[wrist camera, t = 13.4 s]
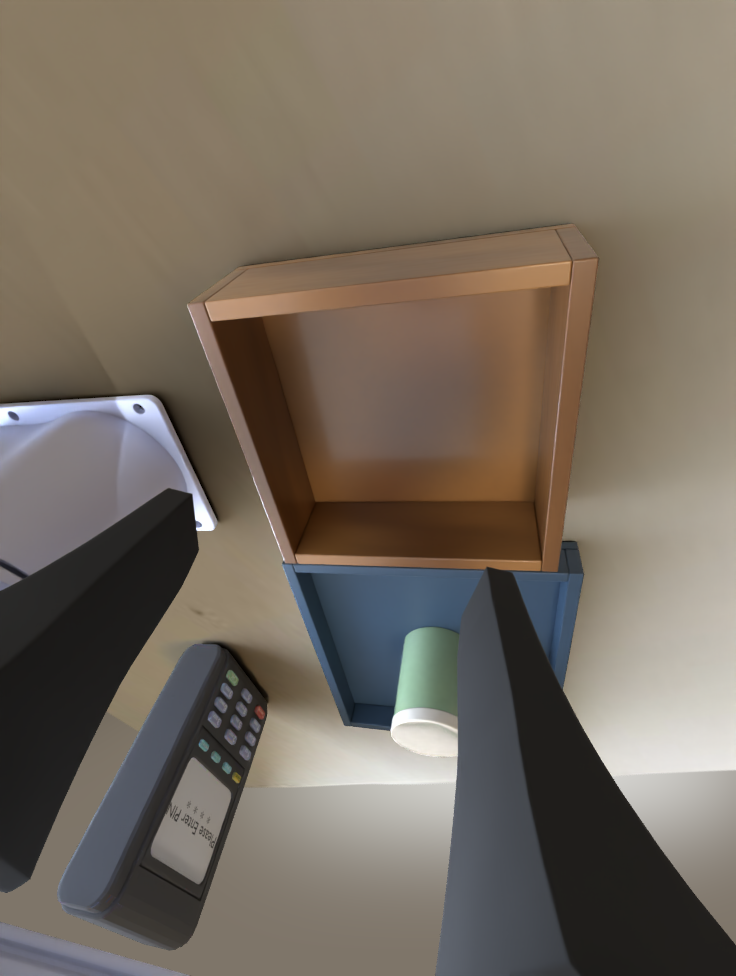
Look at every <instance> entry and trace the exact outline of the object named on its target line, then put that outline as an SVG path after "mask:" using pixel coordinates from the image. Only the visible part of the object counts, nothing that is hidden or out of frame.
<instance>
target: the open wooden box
mask: <svg viewBox="0 0 736 976" xmlns="http://www.w3.org/2000/svg"><path fill="white" fill-rule="evenodd" d="M598 263H599V257H598V256H597V254H596V253H595V252H594V250H593V249H592V248H591V246H590V245H589V243H588V242H587V241H586V239H585V238H584V237H583V235H582V234H581V233H580V231H579V230H578V228H577V227H576V226H575V225H574V224H573V223H572V224H565V225H557V226H549V227H542V228H534V229H526V230H519V231H511V232H503V233H496V234H488V235H480V236H472V237H465V238H457V239H449V240H442V241H434V242H426V243H419V244H411V245H403V246H396V247H388V248H380V249H372V250H365V251H357V252H349V253H342V254H334V255H326V256H319V257H311V258H303V259H296V260H288V261H280V262H273V263H265V264H257V265H249V266H242V267H238V268H237V269H235V270H234V271H233V272H231V273H230V274H228V275H227V276H226V277H224V278H223V279H221V280H220V281H219V282H217V283H216V284H214V285H213V286H212V287H210V288H209V289H207V290H206V291H205V292H203V293H202V294H200V295H199V296H198V297H196V298H195V299H193V300H192V301H191V302H189V303H188V304H187V307H188V309H189V312H190V315H191V317H192V320H193V322H194V325H195V328H196V330H197V333H198V336H199V338H200V341H201V343H202V346H203V349H204V351H205V354H206V357H207V359H208V362H209V364H210V367H211V370H212V372H213V375H214V378H215V380H216V383H217V385H218V388H219V391H220V393H221V396H222V399H223V401H224V404H225V406H226V409H227V412H228V414H229V417H230V420H231V422H232V425H233V427H234V430H235V433H236V435H237V438H238V441H239V443H240V446H241V448H242V451H243V454H244V456H245V459H246V462H247V464H248V467H249V469H250V472H251V475H252V477H253V480H254V483H255V485H256V488H257V491H258V493H259V496H260V498H261V501H262V504H263V506H264V509H265V512H266V514H267V517H268V519H269V522H270V525H271V527H272V530H273V533H274V535H275V538H276V540H277V543H278V546H279V548H280V551H281V554H282V556H283V559H284V561H285V563H292V564H296V563H299V564H325V565H357V566H389V567H421V568H454V569H486V567H491V568H495V569H499V570H518V571H541V570H542V571H544V572H557V571H558V566H559V559H560V551H561V544H562V536H563V529H564V521H565V513H566V506H567V498H568V491H569V483H570V475H571V468H572V460H573V453H574V445H575V438H576V430H577V422H578V415H579V407H580V400H581V392H582V385H583V377H584V369H585V362H586V354H587V347H588V339H589V332H590V324H591V316H592V309H593V301H594V294H595V286H596V279H597V271H598Z"/></svg>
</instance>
